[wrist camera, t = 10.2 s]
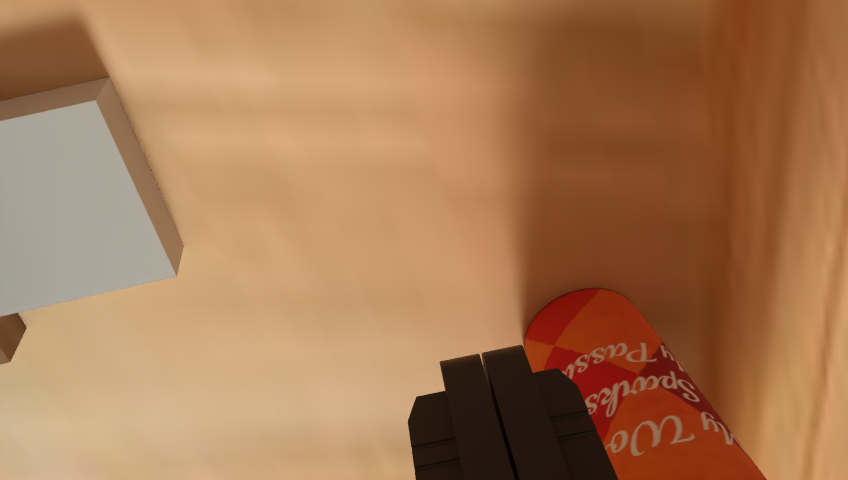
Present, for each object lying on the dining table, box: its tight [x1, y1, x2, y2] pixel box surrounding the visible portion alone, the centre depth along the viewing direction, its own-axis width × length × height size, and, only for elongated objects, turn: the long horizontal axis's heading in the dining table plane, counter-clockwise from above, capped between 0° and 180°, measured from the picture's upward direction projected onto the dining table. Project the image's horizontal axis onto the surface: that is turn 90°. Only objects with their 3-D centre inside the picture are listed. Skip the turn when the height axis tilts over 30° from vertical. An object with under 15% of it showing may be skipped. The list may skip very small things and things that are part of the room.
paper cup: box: [524, 288, 767, 480], centre depth 28 cm, size 8×8×14 cm
